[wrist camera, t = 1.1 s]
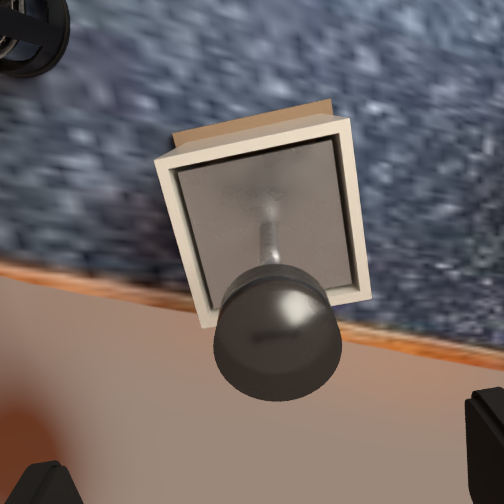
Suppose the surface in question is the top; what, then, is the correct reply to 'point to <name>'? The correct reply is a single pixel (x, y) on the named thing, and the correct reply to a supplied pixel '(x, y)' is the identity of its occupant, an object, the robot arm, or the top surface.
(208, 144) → the white open box
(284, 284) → the plunger
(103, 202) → the top surface
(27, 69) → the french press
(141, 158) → the top surface
